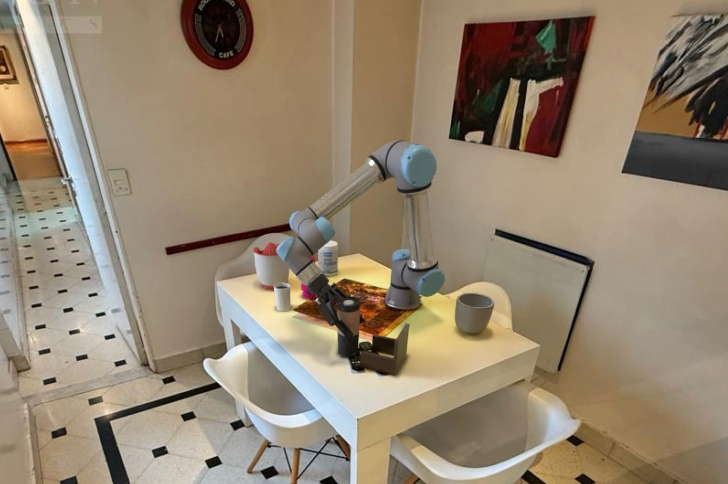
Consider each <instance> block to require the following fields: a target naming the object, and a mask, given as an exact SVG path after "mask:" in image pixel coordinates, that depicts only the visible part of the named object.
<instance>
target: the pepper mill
mask: <svg viewBox="0 0 728 484" xmlns="http://www.w3.org/2000/svg"><path fill="white" fill-rule="evenodd" d="M311 259H312V260H313V262H314V263H315V264H316V258H315V257H314V255H313V256H312V257H311ZM300 290H301V291H302V294H301V295H302V298H303V299H305V300H315V299H317V295H316V294H315V295H312V294H311V293H310V292H309V290H308V289H307V285H304V284H303V283H302V282H301V283H300Z"/></svg>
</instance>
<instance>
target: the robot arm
mask: <svg viewBox="0 0 728 484" xmlns="http://www.w3.org/2000/svg"><path fill="white" fill-rule="evenodd" d="M437 167H438V163H437V158H436V156H435V154H434V152H433V150H431V149H430V148H429V147H426V145H423V144H421V143H415V142H411V141H407V140H404V139H395V140H392V141H390V142H388V143H385V144H384V145H383V146H381V147H379V148H378V149H377V150H376V151H374V152H372V153H371V154H370V155H369V156H368V157H366V158H365V162H364V164H362V165H361V166H359V167H358V168H357V169H355V171H353V172H352V173H351V174H349V175H348V176H347V177H346V178H344V179H343V180H341V181H340V182H339V183H338V184H336V185H335V186H334V187H333V188H331V189H330V190H329V191H328V192H326V193H325V194H324V195H322V196H321V197H320V198H319V199H317V200H316V201H314V202H313V203H312V204H311V205H310V206H308V207H307V208H305V209H304V210H303V211H302V210H298V211H297V210H296V211H295V212H293V213H292V214H291V215H290V217H289V227H290V229H291V230H292V232H293V233H294V234H295V235H297V236H298V237H296V238H295V237H294V236H292V235H289V236H287V237H286V238H285V239H284V240H282V241H281V243H279V244H280V245H279V246H278V247H277V249H276V252H277V254H278V255H279V256H280V258H281V259H282V260H283V262H284V263H285V264H286V265H287V266H288V267H289V270H290V271H291V272H292V273H293V274H294V275H295V276H296V278H297V279H298V280H299V281H300V282H301V283H303V284H304V285H307V289H308V290H309V292H310V293H311V294H312V295H315V294H316V295H317V296H316V298H315V299H314V300H313V302H314V304H315V305H316V306H317V307H318V309H319V311H320V313H321V314H322V316H323V317H324V319H325V321H326V322H327V324H328V325H329V326H330V327H334V326H335V327H336V328H338V329H339V330H340V331H341V332H342V333H343V334H344V335H345V337H346V338H347V339H349V338H350V337H352V336H353V335H354V334H353V333H352V331H351V330H350V329H349V328H348V327H347V326H346V324H345V323H344V322H343V321H342V320H339V318H338V312H337V310H336V309H335V306H334V302H335V303H336V304H338V299H344V298H345V297H347V296H349V295H348V294H347V293H345V291H344V290H342V289H341V288H340V287H339V286H338V285H337V283H335V282H333V283H332V284H331V285H330V284H329V282H330V279H329V278H328V276H325V275H324V273H322V274H321V270H320V268H319V267H318V264H316V262H315V263H314V262H313V260H312V259H311V257H312V256H313V257H314V255H315V254H316V253H318V250H320V249H321V248H322V247H323V246H324V245H325V244H327V243H328V242H329V241H332V238H334V237H335V236H336V230H335V227H333V225H332V224H331V222H330V221H329V220H331V219H332V218H333V217H335V216H336V215H338V214H339V213H340V212H341V211H342V210H344V209H345V208H347V207H348V206H349V205H351V203H353V202H354V201H355V200H357V199H358V198H359V197H360V196H362V195H364V194H365V193H366V192H367V191H369V190H370V189H371V188H373V187H374V186H375V185H377V184H383V183H384V182H385V181H387V180H389V179H392V178H394V179H395V184H396V191H397V193H399V194H400V195H401V196H402V202H403V203H402V204H403V210H404V219H405V226H406V234H407V241H408V242H407V243H408V248H400V249H396V250H395V251H393V253H392V256H391V267H390V268H391V269H390V284H389V287H388V290H387V292H386V295H385V296H384V297H385V298H384V304H385V306H386V307H388V308H390V309H392V310H395V311H402V312H408V311H409V312H410V311H414V310H417V309H419V307H421V302H422V301H421V297H424V298H429V297H433V296H435V295H437V294H438V293H439V291H441V289H442V288H443V287H444V284H445V281H446V276H445V273H444V272H443V270H442V269H440V268H439V258H438V256H437V255H436V254H434V248H433V236H432V226H431V224H432V223H431V214H430V203H429V190H430V188H431V187H432V183H433V182H432V181H433V180H434V178H435V177H434V176H435V175H436V173H437ZM420 296H421V297H420ZM365 321H366V320H365V318H363V316H362V315H361V314H360V323H359V326H361V324H362V323H364V322H365Z"/></svg>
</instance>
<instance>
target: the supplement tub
mask: <svg viewBox="0 0 728 484" xmlns="http://www.w3.org/2000/svg"><path fill="white" fill-rule="evenodd" d="M317 266H318V267H319V268H320V270H321V274H322V273H324V275H325V276H326V277H333V276H336V275H337V274H338V272H339V243H338V242H337V241H335V240H330V241H329V242H328V243H327V244H325V245H324V246H323V247H322V248H321V249H320V250H318V251H317Z"/></svg>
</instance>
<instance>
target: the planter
mask: <svg viewBox="0 0 728 484" xmlns="http://www.w3.org/2000/svg"><path fill="white" fill-rule="evenodd" d="M494 309H495V301H494V299H493V298H492V297H491V296H489V295H486V294H483V293H477V292H464V293H461V294H460V295H458V296H457V297H456V300H455V308H454V323H455V326H456V327H457V328H458V330H459V331H460V332H461V333H462V334H464V335H468V336H476V335H478V334H479V333H481V332H483V331H484V330H486V329H487V327H488V326H489V323H490V321H491V317H492V315H493V311H494Z"/></svg>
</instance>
